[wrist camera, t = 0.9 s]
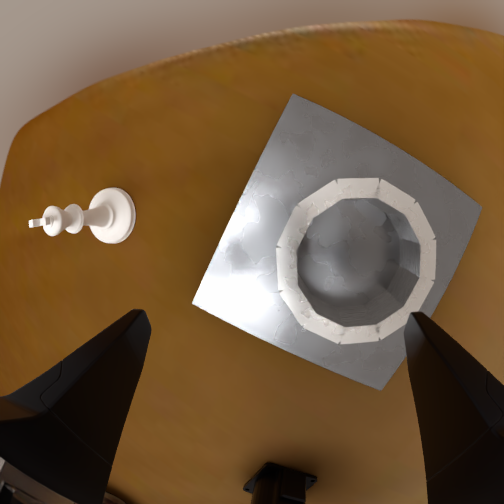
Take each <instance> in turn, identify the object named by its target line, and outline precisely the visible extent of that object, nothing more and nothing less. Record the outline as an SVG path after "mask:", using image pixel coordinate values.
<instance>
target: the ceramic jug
mask: <svg viewBox="0 0 504 504" xmlns="http://www.w3.org/2000/svg"><path fill="white" fill-rule="evenodd" d="M75 504H77V503H75ZM102 504H126V503H125V502H123V501H122V500H120V499H119V498H117V497H116V496H114V495H111V494H109V493H107V492H105V495H104V499H103V503H102Z"/></svg>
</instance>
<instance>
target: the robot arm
mask: <svg viewBox="0 0 504 504" xmlns="http://www.w3.org/2000/svg"><path fill="white" fill-rule="evenodd" d="M150 335H151V325H150V322H149V320H148V317H147V315H146V312H145V311H144V310H142V309H133V310H131V311H130V312H128V313H127V314H125V315H124V316H122V317H121V318H120V319H118V320H117V321H115V322H114V323H113V324H111V325H110V326H108V327H107V328H106V329H104V330H103V331H102V332H100V333H99V334H97V335H96V336H95V337H93V338H92V339H90V340H89V341H88V342H86V343H85V344H84V345H82V346H81V347H79V348H78V349H77V350H75V351H74V352H72V353H71V354H70V355H68V356H67V357H66V358H64V359H63V361H60V362H59V363H57V364H56V365H55V366H53V367H52V368H50V369H49V370H48V371H46V372H45V373H43V374H42V375H40V376H39V377H37V378H36V379H34V380H32V381H31V382H29V383H27V384H26V385H24V386H23V387H21V388H19V389H18V390H16V391H15V392H13V393H11V394H9V395H6V396H2V397H0V504H75V503H77V504H102V503H103V499H104V495H105V491H106V487H107V484H108V480H109V476H110V472H111V469H112V465H113V461H114V457H115V454H116V450H117V447H118V444H119V440H120V437H121V434H122V430H123V427H124V424H125V421H126V417H127V414H128V411H129V408H130V405H131V402H132V399H133V396H134V393H135V390H136V387H137V384H138V381H139V378H140V375H141V372H142V369H143V365H144V361H145V357H146V352H147V348H148V344H149V339H150ZM404 341H405V348H406V355H407V363H408V371H409V377H410V382H411V387H412V391H413V396H414V401H415V406H416V411H417V417H418V423H419V428H420V435H421V441H422V448H423V455H424V463H425V472H426V481H427V482H426V483H427V495H428V504H504V385H503V384H502V383H501V382H500V381H498V380H497V379H496V378H495V377H494V376H493V375H492V374H491V373H490V372H489V371H487V369H486V368H485V367H484V366H483V365H481V364H480V363H479V362H478V361H477V360H476V359H475V358H474V357H473V356H472V355H471V354H470V353H469V352H467V351H466V350H465V349H464V348H463V347H462V346H461V345H460V344H459V343H458V342H456V341H455V340H454V339H453V338H452V337H451V336H450V335H449V334H447V333H446V332H445V331H444V330H443V329H442V328H441V327H440V326H438V325H437V324H436V323H435V322H434V321H433V320H431V319H430V318H429V317H428V316H427V315H426V314H424V313H423V312H421V311H417V312H411V313H410V314H409V317H408V320H407V323H406V326H405V329H404ZM316 482H317V477H315V476H312V475H308V474H305V473H301V472H298V471H295V470H291V469H288V468H285V467H282V466H279V465H276V464H273V463H266V464H265V465H264V466H263V467H262V468H261V469H260V470H259V471H258V472H257V473H256V474H255V475H254V476H253V477H252V478H251V479H250V480H249V481H248V482H247V483H246V484H245V485H244V487H243V490H244V491H246V492H249V493H252V500H251V504H305V502H306V490H307V489H309V488H310V487H311V486H312V485H313V484H314V483H316Z"/></svg>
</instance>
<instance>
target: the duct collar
mask: <svg viewBox="0 0 504 504" xmlns="http://www.w3.org/2000/svg"><path fill="white" fill-rule="evenodd" d="M481 210H482V207H481V206H480V205H479V204H478V203H476V202H475V201H474V200H473V199H471V198H470V197H469V196H468V195H466V194H465V193H464V192H462V191H461V190H460V189H458V188H457V187H456V186H454V185H453V184H452V183H450V182H449V181H448V180H446V179H445V178H443V177H442V176H441V175H439V174H438V173H436V172H435V171H433V170H432V169H431V168H429V167H428V166H426V165H425V164H423V163H422V162H420V161H419V160H417V159H415V158H414V157H412V156H411V155H409V154H408V153H406V152H404V151H403V150H401V149H400V148H398V147H396V146H395V145H393V144H391V143H390V142H388V141H386V140H385V139H383V138H381V137H379V136H378V135H376V134H374V133H372V132H371V131H369V130H367V129H365V128H363V127H361V126H360V125H358V124H356V123H354V122H352V121H350V120H348V119H346V118H344V117H342V116H340V115H338V114H336V113H334V112H332V111H330V110H328V109H326V108H324V107H322V106H320V105H317V104H315V103H313V102H311V101H309V100H306V99H304V98H302V97H300V96H297V95H295V94H292V96H291V98H290V100H289V102H288V104H287V106H286V108H285V110H284V112H283V114H282V115H281V117H280V119H279V121H278V123H277V125H276V127H275V129H274V131H273V133H272V135H271V137H270V139H269V141H268V143H267V145H266V147H265V149H264V151H263V153H262V155H261V157H260V159H259V161H258V163H257V165H256V167H255V169H254V171H253V173H252V175H251V177H250V180H249V182H248V184H247V186H246V188H245V190H244V192H243V194H242V196H241V198H240V200H239V202H238V204H237V206H236V209H235V211H234V213H233V215H232V217H231V219H230V221H229V223H228V225H227V228H226V230H225V232H224V234H223V236H222V238H221V240H220V243H219V245H218V247H217V249H216V251H215V253H214V256H213V258H212V260H211V262H210V264H209V267H208V269H207V271H206V273H205V275H204V278H203V280H202V282H201V284H200V286H199V289H198V291H197V293H196V295H195V298H194V300H193V302H192V304H194V305H196V306H198V307H200V308H201V309H203V310H205V311H207V312H209V313H211V314H213V315H215V316H217V317H219V318H220V319H222V320H224V321H226V322H228V323H230V324H232V325H234V326H236V327H238V328H240V329H242V330H244V331H246V332H248V333H250V334H252V335H254V336H256V337H258V338H260V339H263V340H265V341H267V342H269V343H271V344H273V345H275V346H277V347H279V348H282V349H284V350H286V351H288V352H290V353H292V354H295V355H297V356H299V357H301V358H303V359H306V360H308V361H310V362H312V363H315V364H317V365H319V366H321V367H324V368H326V369H328V370H331V371H333V372H336V373H338V374H340V375H343V376H345V377H347V378H350V379H352V380H355V381H357V382H360V383H362V384H365V385H367V386H370V387H372V388H375V389H378V390H380V391H381V390H382V389H383V387H384V386H385V385H386V383H387V382H388V381H389V379H390V378H391V377H392V375H393V374H394V373H395V371H396V370H397V368H398V367H399V366H400V364H401V363H402V361H403V360H404V358H405V357H406V348H405V341H404V329H405V326H406V323H407V320H408V317H409V314H410V313H411V312H417V311H421V312H423V313H424V314H426V315H427V316H428V317H429V318H430V317H431V315H432V314H433V312H434V310H435V308H436V307H437V305H438V303H439V301H440V299H441V298H442V296H443V294H444V292H445V290H446V288H447V286H448V284H449V282H450V281H451V279H452V277H453V275H454V273H455V270H456V268H457V266H458V264H459V262H460V260H461V258H462V256H463V253H464V251H465V249H466V247H467V244H468V242H469V240H470V237H471V235H472V233H473V230H474V228H475V225H476V223H477V220H478V218H479V215H480V212H481Z"/></svg>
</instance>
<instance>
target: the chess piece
mask: <svg viewBox="0 0 504 504" xmlns="http://www.w3.org/2000/svg"><path fill="white" fill-rule="evenodd" d="M135 218H136V212H135V206H134V203H133V201H132V199H131V197H130V196H129V195H128V194H127V193H126V192H125V191H124V190H122V189H119V188H107V189H104V190H102V191H100V192H99V193H97V194H96V195H95V197H94V198H93V200H92V201H91V204H90V207H89V210H85V211H82V209H81V208H80V207H79V206H78V205H76V204H72V205H69V206H68V207H66V209H65V210H62V209H60V208H58V207H56V206H50V207H48V208H47V209H46V210H45V212H44V214H43V218H41V219H33V220H29V227H30V228H31V227H37V226H43V228H44V230H45V232H46V233H47V234H48V235H50V236H55V235H57V234H59V233H60V232H62V231H63V230H64V229H66V230H67V231H68V232H70V233H77V232H79V231H80V230H81V228H82V226H83V225H90V228H91V230H92V232H93V234H94V235H95V236H96V237H97V238H98V239H99V240H101V241H102V242H105V243H119V242H121V241H123V240H125V239H126V238H127V237H128V236H129V235H130V233H131V232H132V230H133V227H134V224H135Z"/></svg>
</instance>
